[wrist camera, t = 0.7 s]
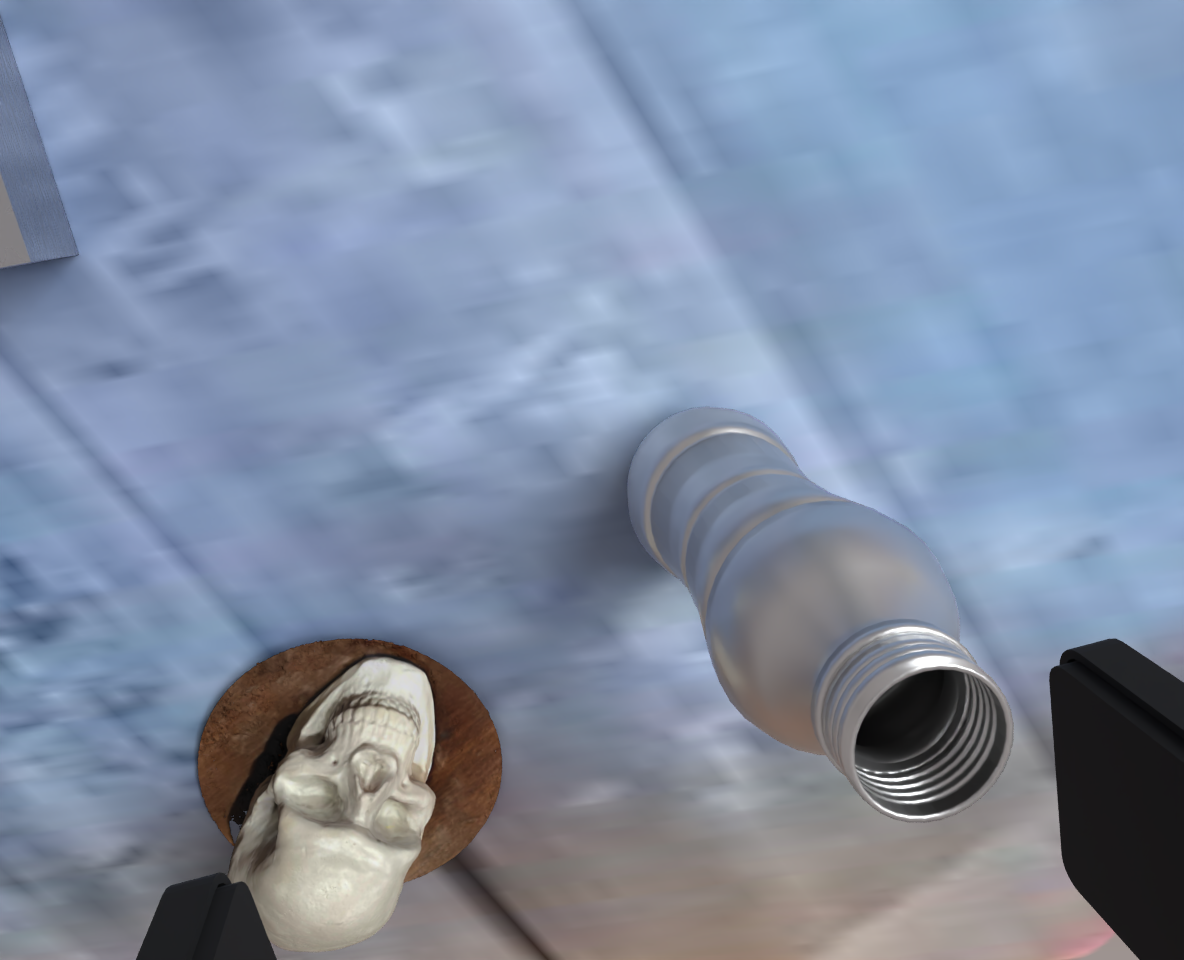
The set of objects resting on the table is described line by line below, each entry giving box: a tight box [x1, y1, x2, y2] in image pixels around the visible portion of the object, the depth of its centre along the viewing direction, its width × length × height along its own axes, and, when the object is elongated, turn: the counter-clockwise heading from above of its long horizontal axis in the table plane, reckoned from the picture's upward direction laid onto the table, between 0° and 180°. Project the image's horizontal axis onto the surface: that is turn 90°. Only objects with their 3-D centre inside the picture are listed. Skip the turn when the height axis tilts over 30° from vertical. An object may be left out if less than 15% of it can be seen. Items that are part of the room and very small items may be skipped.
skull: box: [198, 639, 502, 952], centre depth 39 cm, size 12×10×10 cm
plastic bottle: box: [627, 407, 1014, 823], centre depth 29 cm, size 6×7×20 cm
